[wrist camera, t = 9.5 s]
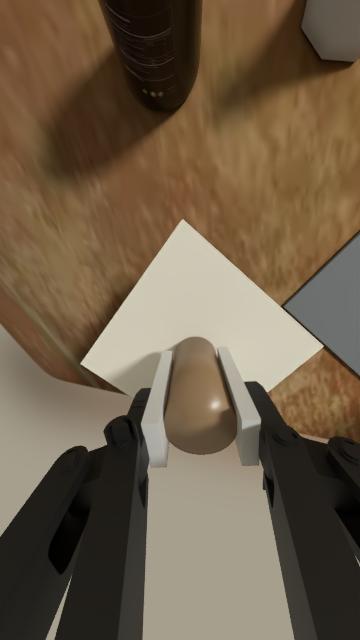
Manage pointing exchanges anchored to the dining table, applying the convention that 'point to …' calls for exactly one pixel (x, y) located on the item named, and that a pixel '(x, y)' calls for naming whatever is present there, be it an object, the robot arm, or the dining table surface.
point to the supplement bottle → (156, 47)
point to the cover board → (200, 311)
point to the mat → (334, 304)
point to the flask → (333, 28)
